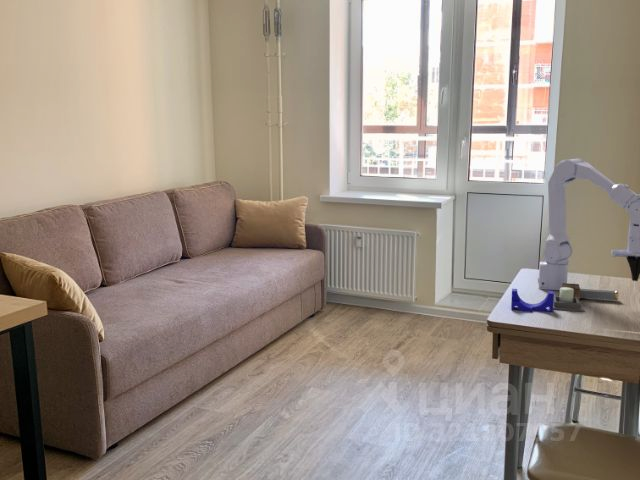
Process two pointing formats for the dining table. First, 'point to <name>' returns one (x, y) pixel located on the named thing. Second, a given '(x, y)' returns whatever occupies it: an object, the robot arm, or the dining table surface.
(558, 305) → the cradle
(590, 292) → the shaft
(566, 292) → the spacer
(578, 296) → the brown wooden block
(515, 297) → the blue semicircular bracket
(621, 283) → the dining table surface
